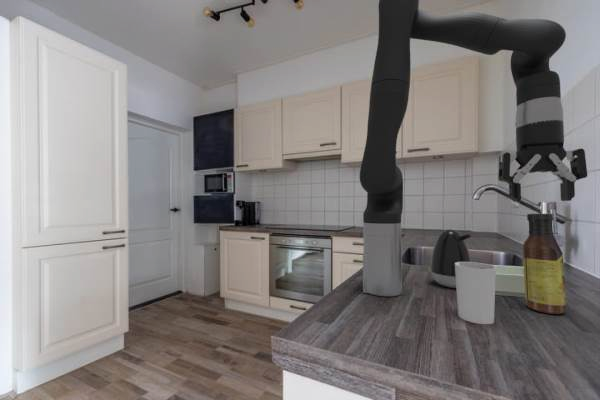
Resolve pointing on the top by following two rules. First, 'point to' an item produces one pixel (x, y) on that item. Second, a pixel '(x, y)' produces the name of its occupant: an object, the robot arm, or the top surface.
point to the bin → (509, 281)
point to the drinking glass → (475, 291)
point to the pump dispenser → (448, 256)
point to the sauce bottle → (543, 267)
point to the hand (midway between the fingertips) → (541, 200)
